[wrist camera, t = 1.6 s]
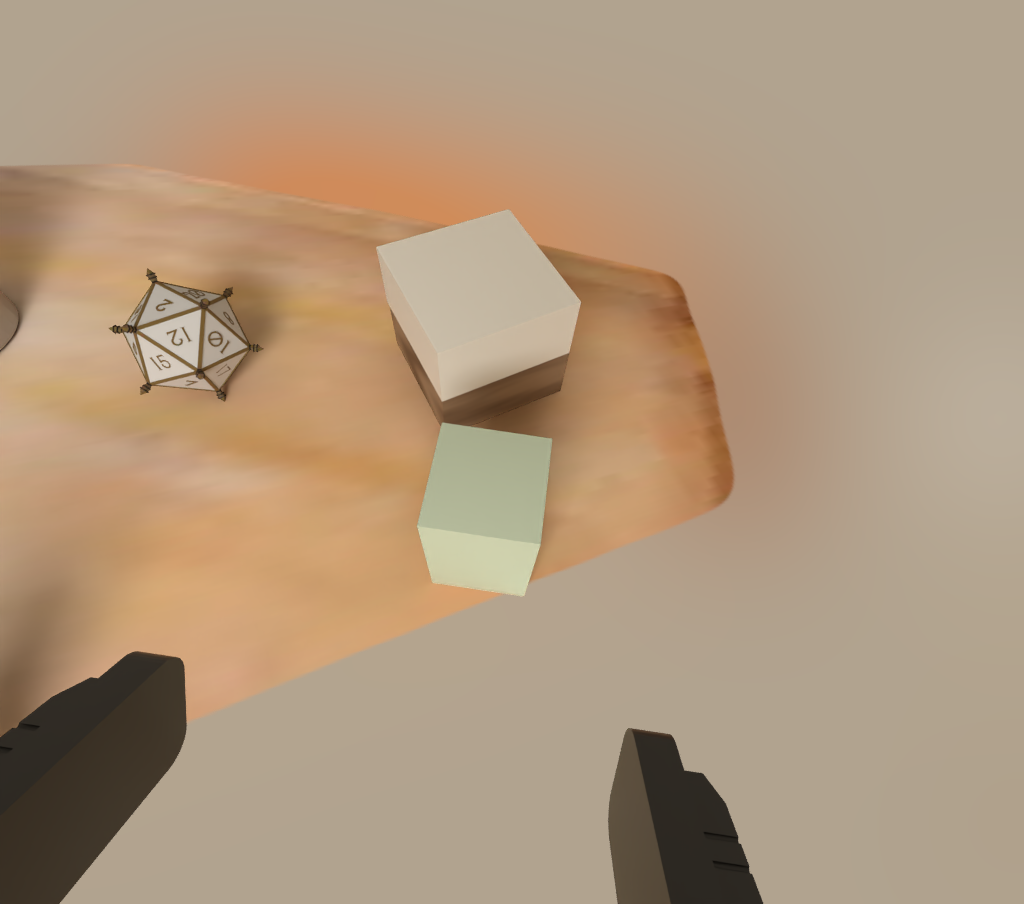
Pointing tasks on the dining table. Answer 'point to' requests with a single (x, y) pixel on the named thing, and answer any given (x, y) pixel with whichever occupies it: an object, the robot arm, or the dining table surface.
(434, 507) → the sage block
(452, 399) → the tower bottom
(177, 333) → the game die
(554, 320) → the tower top
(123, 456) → the dining table surface
